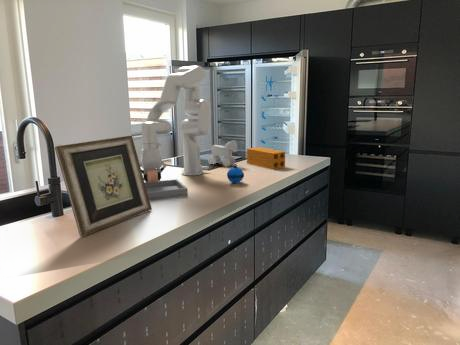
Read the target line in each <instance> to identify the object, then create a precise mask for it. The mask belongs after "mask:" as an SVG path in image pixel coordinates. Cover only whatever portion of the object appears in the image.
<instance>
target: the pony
mask: <svg viewBox="0 0 460 345" xmlns="http://www.w3.org/2000/svg"><path fill="white" fill-rule="evenodd" d="M210 148H211V150H210V151H211V156H209V157H208V158H207V159H208V161H207V162H208V164H209V165H210V164H213V165H212V166H215V165H217V164H216V163H219V164H220V163H221V162H222V165H223V167H226V168H228V167H230V166H234V164H236V159H235V156H232V155H233V153H237V152H238V151H239V150H238V143H237V141H236V139H234V140H231V141H228V142H227V143H226V144H225V145H218V144H213V145H212V146H211V147H210ZM221 157H223V158H221ZM214 164H215V165H214Z"/></svg>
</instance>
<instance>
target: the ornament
mask: <svg viewBox="0 0 460 345" xmlns="http://www.w3.org/2000/svg"><path fill="white" fill-rule="evenodd" d="M226 177H227V179H228V180H229V182H230V183H233V184H239V183H240V182H241V181H243V178H244V177H245V173H244V171H243V170H242V169H241V168H240V167H239V166H238V165H237V163H235V164H234V165H233V167H231V168H230V169H229V170H228V171H227V173H226Z"/></svg>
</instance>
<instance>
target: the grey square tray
mask: <svg viewBox="0 0 460 345" xmlns="http://www.w3.org/2000/svg"><path fill="white" fill-rule="evenodd" d="M144 182H145V181H144ZM145 186H146V189H147V193H148V197H149V201H155V200H165V199H172V198H180V197H181V198H182V197H187V196H189V193H188V192H189V190H188V188H187V186H185V185H184V184H183V182H181V181H180V180H179V179H177V178H176V179H175V178H174V179H166V180H160V181H155V182H145Z"/></svg>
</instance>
